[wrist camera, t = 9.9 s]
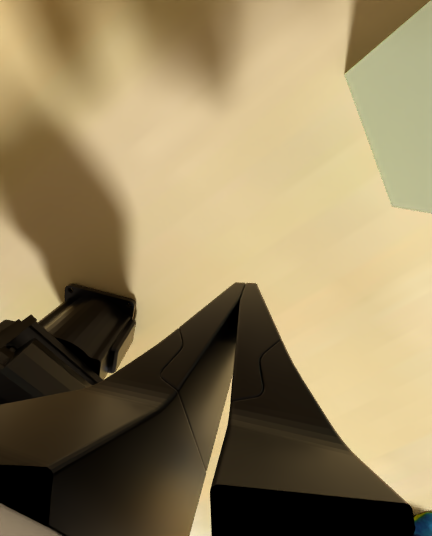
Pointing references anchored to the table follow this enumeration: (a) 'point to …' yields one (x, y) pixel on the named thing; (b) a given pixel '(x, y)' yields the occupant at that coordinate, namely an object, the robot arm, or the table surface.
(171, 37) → the table surface
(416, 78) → the bookend
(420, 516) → the plush toy
